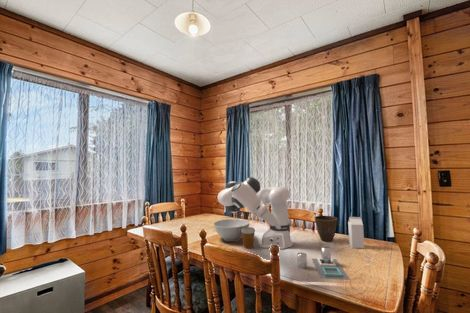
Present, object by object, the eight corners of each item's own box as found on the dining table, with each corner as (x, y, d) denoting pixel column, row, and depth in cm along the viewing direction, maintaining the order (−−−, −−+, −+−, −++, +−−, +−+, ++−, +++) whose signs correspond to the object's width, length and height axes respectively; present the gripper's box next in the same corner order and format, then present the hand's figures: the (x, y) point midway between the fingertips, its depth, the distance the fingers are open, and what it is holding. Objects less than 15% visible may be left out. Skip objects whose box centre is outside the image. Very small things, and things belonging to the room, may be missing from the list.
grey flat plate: (320, 281, 106) (320, 275, 106) (311, 261, 129) (311, 256, 129) (350, 282, 104) (350, 277, 104) (336, 262, 127) (336, 257, 127)
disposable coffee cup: (247, 243, 162) (246, 226, 162) (258, 246, 156) (257, 228, 156) (238, 247, 154) (238, 229, 155) (250, 250, 148) (249, 231, 149)
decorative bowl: (250, 244, 159) (250, 227, 160) (212, 245, 160) (211, 227, 160) (249, 233, 186) (248, 218, 187) (216, 234, 186) (215, 219, 187)
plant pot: (335, 245, 153) (334, 221, 154) (312, 241, 162) (311, 218, 163) (340, 239, 165) (339, 217, 166) (319, 236, 174) (318, 214, 175)
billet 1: (298, 271, 117) (297, 255, 117) (297, 267, 121) (297, 252, 122) (307, 272, 116) (307, 255, 116) (306, 268, 120) (305, 252, 121)
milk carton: (364, 248, 146) (362, 218, 147) (352, 248, 147) (350, 218, 148) (360, 244, 153) (359, 216, 154) (349, 244, 154) (347, 215, 155)
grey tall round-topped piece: (322, 265, 120) (322, 249, 121) (321, 261, 125) (320, 246, 125) (332, 265, 120) (331, 249, 120) (329, 261, 124) (329, 246, 124)
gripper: (250, 208, 129) (268, 225, 129) (257, 215, 108) (278, 236, 108) (258, 199, 129) (276, 216, 129) (266, 205, 109) (287, 225, 109)
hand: (277, 225), depth 119 cm, fingers open, 8 cm apart
